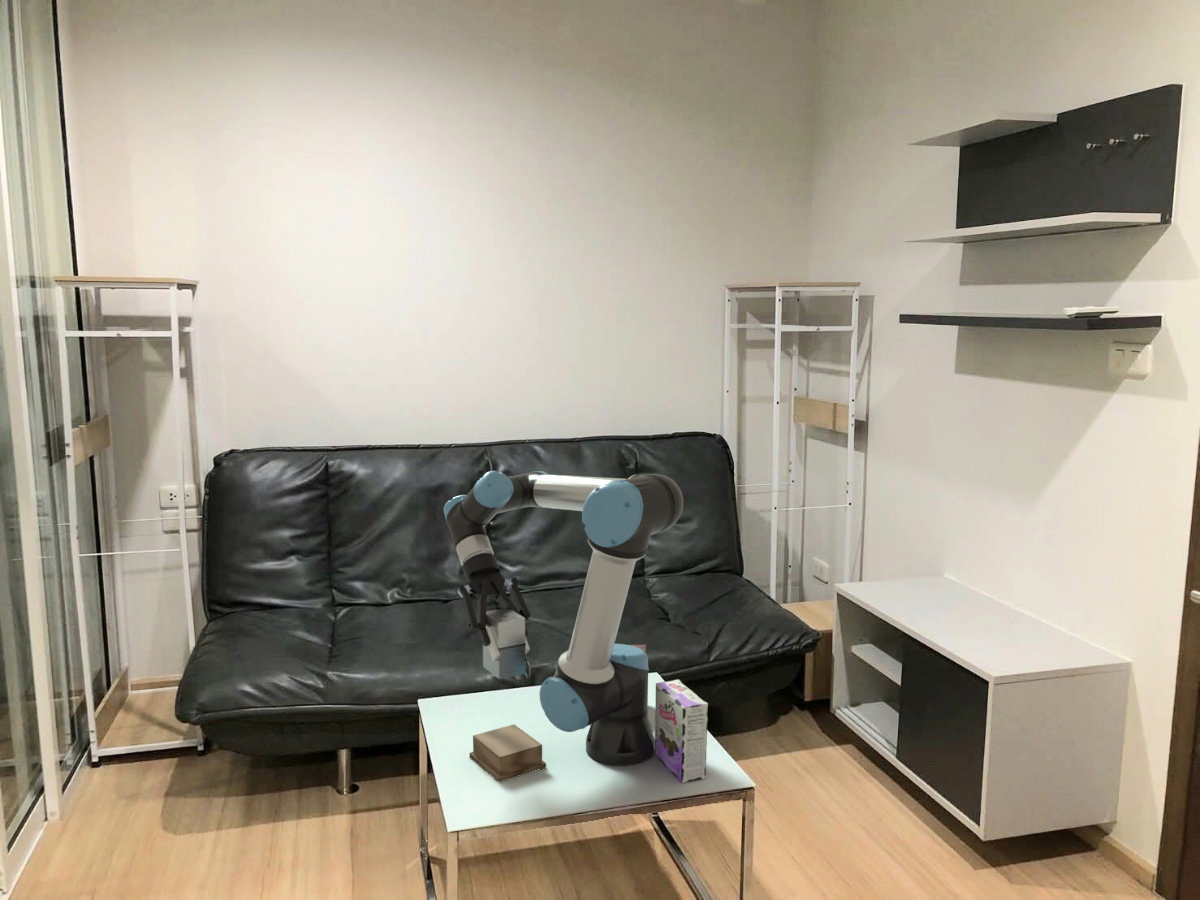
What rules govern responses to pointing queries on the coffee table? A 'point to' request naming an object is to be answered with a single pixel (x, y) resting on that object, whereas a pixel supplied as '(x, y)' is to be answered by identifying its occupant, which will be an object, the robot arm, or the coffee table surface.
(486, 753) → the walnut stand
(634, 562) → the robot arm
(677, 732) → the candy box
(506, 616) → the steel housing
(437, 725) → the coffee table surface
